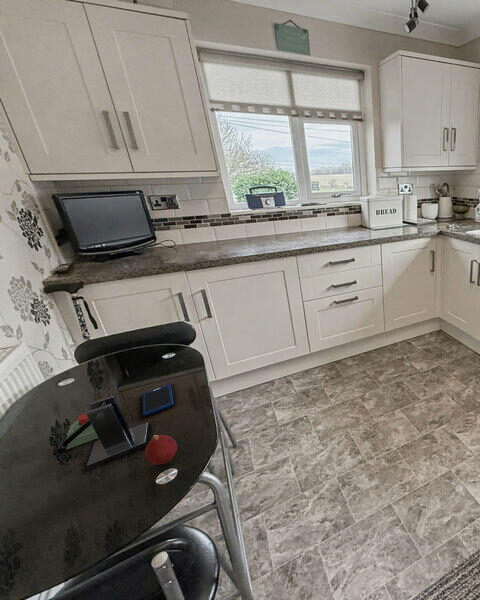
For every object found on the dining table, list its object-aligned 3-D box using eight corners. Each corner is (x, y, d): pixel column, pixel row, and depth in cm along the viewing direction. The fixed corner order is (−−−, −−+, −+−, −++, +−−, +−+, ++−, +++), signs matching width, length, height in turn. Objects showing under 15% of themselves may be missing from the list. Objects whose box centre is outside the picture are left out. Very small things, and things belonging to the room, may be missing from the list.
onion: (151, 462, 75) (137, 435, 72) (179, 448, 78) (168, 421, 76) (153, 477, 71) (139, 449, 68) (183, 462, 74) (171, 434, 71)
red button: (79, 427, 84) (76, 422, 83) (82, 419, 87) (79, 414, 86) (97, 421, 85) (94, 415, 85) (99, 413, 88) (96, 408, 88)
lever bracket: (88, 469, 75) (63, 425, 70) (96, 445, 82) (74, 404, 78) (146, 446, 80) (126, 404, 76) (149, 425, 87) (131, 386, 83)
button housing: (66, 449, 82) (59, 437, 80) (74, 431, 88) (68, 419, 87) (116, 431, 87) (110, 419, 85) (120, 415, 93) (115, 403, 92)
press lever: (63, 455, 73) (51, 451, 72) (69, 442, 77) (58, 437, 76) (111, 413, 76) (101, 408, 75) (115, 403, 80) (105, 398, 79)
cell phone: (171, 385, 105) (170, 383, 105) (174, 405, 95) (173, 403, 94) (143, 395, 101) (142, 393, 101) (143, 417, 91) (142, 415, 90)
